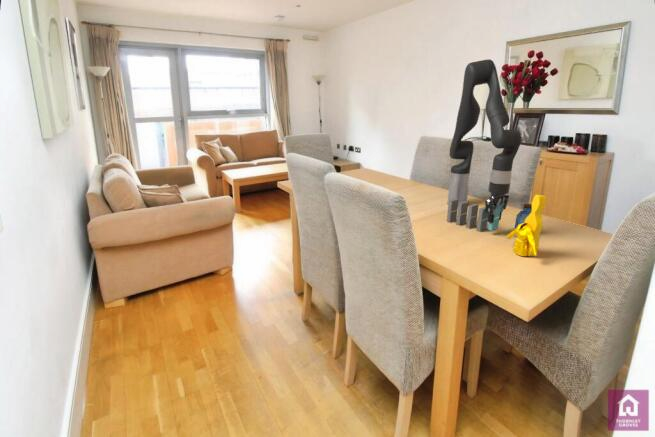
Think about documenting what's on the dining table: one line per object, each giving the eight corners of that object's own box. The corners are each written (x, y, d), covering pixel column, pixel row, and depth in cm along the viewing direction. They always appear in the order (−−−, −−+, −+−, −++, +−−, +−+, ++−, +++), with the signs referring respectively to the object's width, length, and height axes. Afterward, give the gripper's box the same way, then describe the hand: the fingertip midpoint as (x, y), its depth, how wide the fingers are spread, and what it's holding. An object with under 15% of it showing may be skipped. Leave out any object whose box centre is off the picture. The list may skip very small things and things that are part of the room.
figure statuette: (500, 244, 140) (509, 189, 133) (519, 243, 141) (529, 188, 133) (529, 265, 123) (541, 203, 116) (550, 263, 124) (563, 202, 117)
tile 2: (462, 222, 165) (465, 201, 161) (465, 223, 163) (468, 202, 160) (456, 224, 162) (458, 203, 159) (459, 225, 160) (461, 203, 157)
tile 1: (453, 219, 168) (455, 198, 165) (456, 220, 167) (458, 199, 164) (446, 221, 166) (448, 200, 162) (449, 222, 164) (452, 201, 161)
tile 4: (482, 228, 157) (485, 206, 154) (486, 229, 156) (489, 207, 152) (476, 230, 154) (479, 208, 151) (479, 231, 153) (483, 209, 150)
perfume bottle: (530, 230, 154) (535, 203, 150) (532, 235, 149) (538, 207, 145) (514, 228, 156) (518, 202, 152) (516, 233, 151) (521, 206, 147)
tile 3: (472, 225, 161) (475, 203, 158) (475, 226, 159) (478, 204, 156) (465, 227, 158) (468, 205, 155) (469, 228, 157) (472, 206, 153)
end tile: (494, 226, 152) (497, 204, 149) (498, 228, 151) (501, 205, 148) (487, 229, 150) (491, 206, 146) (491, 230, 148) (495, 207, 145)
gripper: (500, 177, 151) (494, 215, 156) (481, 181, 143) (475, 222, 148) (518, 180, 145) (511, 220, 150) (499, 185, 137) (493, 227, 142)
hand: (494, 221), depth 149 cm, fingers closed on end tile, 5 cm apart
